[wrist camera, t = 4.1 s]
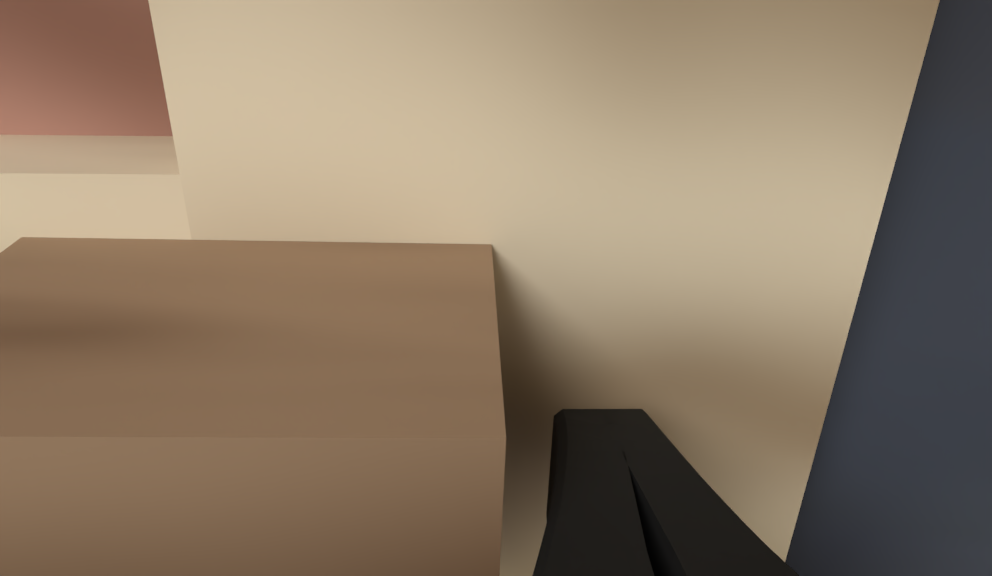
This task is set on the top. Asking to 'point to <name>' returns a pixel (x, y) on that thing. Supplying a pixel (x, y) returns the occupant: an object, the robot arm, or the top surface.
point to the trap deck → (513, 184)
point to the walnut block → (249, 409)
